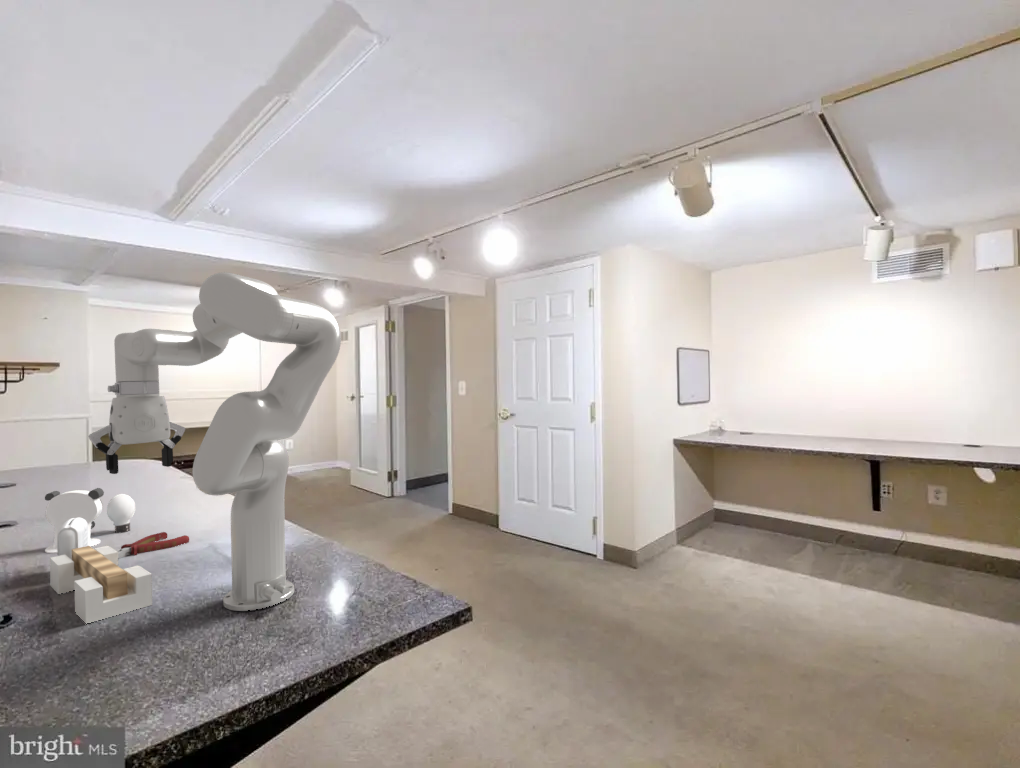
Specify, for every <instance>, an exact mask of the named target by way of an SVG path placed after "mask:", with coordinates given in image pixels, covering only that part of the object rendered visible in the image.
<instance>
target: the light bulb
mask: <svg viewBox="0 0 1020 768" xmlns="http://www.w3.org/2000/svg"><path fill="white" fill-rule="evenodd" d="M135 512H136V502H135V500H134V498H132V496H130V495H128V494H126V493H119V494H115V495H114V496H113V497H112V498H111V499H110V500H109V501H108V503H107V506H106V514H107V517H108V519H109V520H110V521H111V522H113V526H114V532H115V531H116V532H117V533H116V534H119V532H121V533H126V532H128V531H130V530H131V522H130V520H131V519H132V518H133V516H134V514H135Z"/></svg>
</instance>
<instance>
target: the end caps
mask: <svg viewBox="0 0 1020 768" xmlns="http://www.w3.org/2000/svg"><path fill="white" fill-rule="evenodd" d="M93 549H94V550H96V551H97V552H99V553H100V554H101V555H103V556H104V557H106V558H107V559H108V560H110V561H111V562H113V563H114V564H116V565H117V566H118V567H119V558H118V552H117V551H116V550H117V549H114V548H113V547H111V546H109V545H104V546H98V547H95V548H93ZM122 569H123V570H124V571H125V572H127V580H128V594H126V595H122V596H119V597H115V598H112V599H107V598H106V597H105V596H103V586H102V585H100V584H99V583H98V582H97V581H96V580H95V579H93V578H92V577H89V578H83V577H82V576H81V575H80V574H79V573H78V572H76V571H75V570H74V562H73V561H72V560H71V559H70V558H69V557H67V556H66V555H60V556H57V555H56V556H52V557H51V556H50V557H49V575H50V576H49V578H50V579H49V580H50V582H49V585H50V587H51V588H52V589H53V590H54V591H55V592H56V594H57V595H58V594H60V595H62V594H61V593H63V594H66V593H65V592H67V593H70V592H69V591H71V592H74V613H75V612H76V613H75V615H78V616H79V617H80V618H81V619H82V620H83V621H84V622H85V623H86V624H87V623H91V622H94V621H97V622H99V621H98V620H101V621H103V620H102V619H104V620H106V619H105V618H107V619H109V618H108V617H111V618H113V617H112V616H114V617H117V616H120V615H119V614H121V615H124V614H126V612H127V613H131V612H134V611H137V610H140V608H141V609H144V608H146V607H150V606H153V583H152V582H153V580H152V579H153V577H152V576H153V574H152V573H151V572H149V571H148V570H146V569H145V568H143V567H142V566H140V565H134V566H130V567H126V568H122ZM73 590H75V591H73ZM136 609H137V610H136ZM133 610H134V611H133ZM130 611H131V612H130ZM123 613H124V614H123ZM116 615H117V616H116ZM78 616H77V617H78ZM79 617H78V618H79ZM80 618H79V619H80ZM81 619H80V620H81ZM82 620H81V621H82ZM83 621H82V622H83ZM84 622H83V623H84ZM85 623H84V624H85ZM94 623H95V622H94ZM86 624H85V625H86ZM91 624H92V623H91ZM87 625H88V624H87Z"/></svg>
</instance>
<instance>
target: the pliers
mask: <svg viewBox="0 0 1020 768" xmlns="http://www.w3.org/2000/svg"><path fill="white" fill-rule="evenodd" d="M166 538H168V533H167V532H165V531H161V532H158V533H157V532H156V533H154V534H150V535H147V536H145V537H143V538H141V539H139V540H136V541H135V542H132V543H125V544H123V545H121V546H120V548H118V549H115V550H116V551H117V552H118V559H121V558H125V557H127V556H131V555H133V556H137V555H138V554H145V553H149V552H153V551H159V550H165V549H171V548H175V546H176V547H179V546H181V544H182V545H184V543H185V544H188V543H189V542H190V536H189V535H182V536H177V537H174V538H169V539H166ZM155 541H156V542H155ZM178 545H179V546H178Z"/></svg>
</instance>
